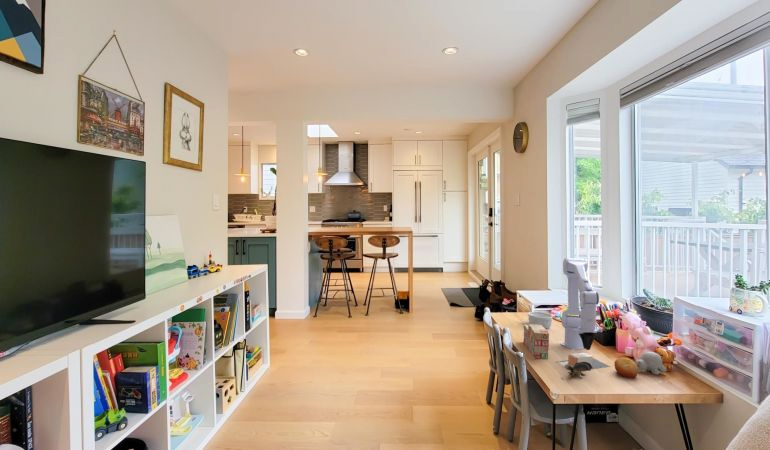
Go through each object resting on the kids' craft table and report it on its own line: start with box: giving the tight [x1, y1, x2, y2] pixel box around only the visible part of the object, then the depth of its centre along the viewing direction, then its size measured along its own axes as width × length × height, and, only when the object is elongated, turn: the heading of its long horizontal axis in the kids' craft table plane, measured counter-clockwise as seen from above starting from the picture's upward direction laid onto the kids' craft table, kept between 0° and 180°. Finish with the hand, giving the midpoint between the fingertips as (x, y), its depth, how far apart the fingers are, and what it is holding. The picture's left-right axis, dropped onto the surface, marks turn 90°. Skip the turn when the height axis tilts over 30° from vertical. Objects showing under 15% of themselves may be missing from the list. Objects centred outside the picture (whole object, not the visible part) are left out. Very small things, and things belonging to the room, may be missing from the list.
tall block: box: [567, 352, 593, 366], centre depth 152 cm, size 4×4×9 cm
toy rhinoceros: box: [633, 351, 667, 376], centre depth 146 cm, size 7×12×8 cm, turn 87°
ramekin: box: [527, 311, 553, 330], centre depth 206 cm, size 13×13×7 cm
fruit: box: [614, 357, 638, 378], centre depth 143 cm, size 8×8×8 cm
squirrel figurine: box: [564, 362, 593, 379], centre depth 141 cm, size 8×7×9 cm
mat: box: [556, 357, 612, 370], centre depth 152 cm, size 20×10×1 cm, turn 107°
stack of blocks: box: [523, 323, 550, 360], centre depth 168 cm, size 21×6×12 cm, turn 170°
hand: (586, 349), depth 153 cm, fingers closed
